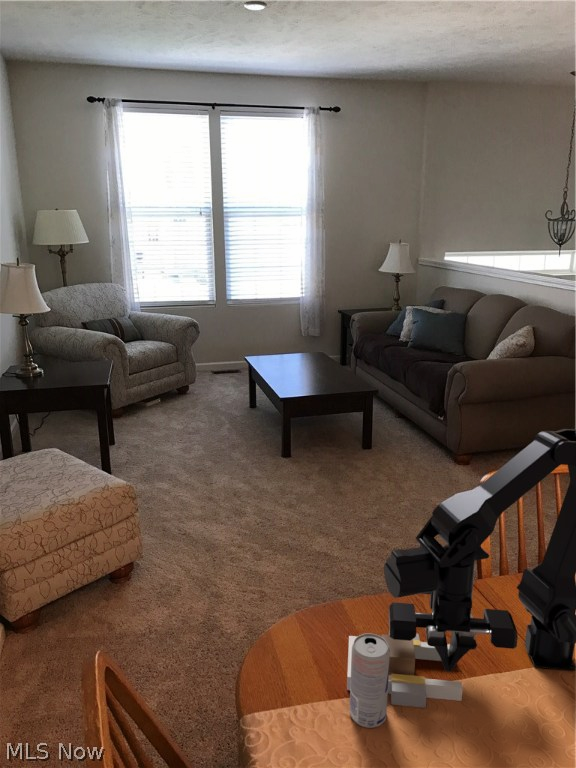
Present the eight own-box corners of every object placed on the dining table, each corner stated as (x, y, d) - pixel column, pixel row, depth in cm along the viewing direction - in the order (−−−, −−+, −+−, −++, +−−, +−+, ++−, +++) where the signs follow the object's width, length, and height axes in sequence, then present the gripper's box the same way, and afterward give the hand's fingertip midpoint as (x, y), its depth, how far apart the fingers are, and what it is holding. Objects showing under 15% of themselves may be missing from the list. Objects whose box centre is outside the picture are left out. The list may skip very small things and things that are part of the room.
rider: (411, 662, 96) (412, 636, 95) (413, 685, 92) (415, 658, 90) (380, 660, 97) (381, 634, 96) (381, 682, 92) (382, 656, 91)
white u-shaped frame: (450, 648, 99) (452, 634, 99) (463, 711, 87) (465, 696, 86) (348, 639, 102) (349, 626, 101) (346, 699, 89) (346, 685, 88)
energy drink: (385, 701, 88) (388, 633, 85) (387, 731, 83) (391, 659, 80) (349, 698, 89) (351, 631, 86) (349, 727, 84) (352, 657, 81)
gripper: (505, 558, 95) (498, 639, 100) (389, 551, 98) (386, 631, 102) (522, 600, 85) (513, 690, 89) (391, 591, 87) (388, 679, 91)
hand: (447, 669), depth 93 cm, fingers closed
